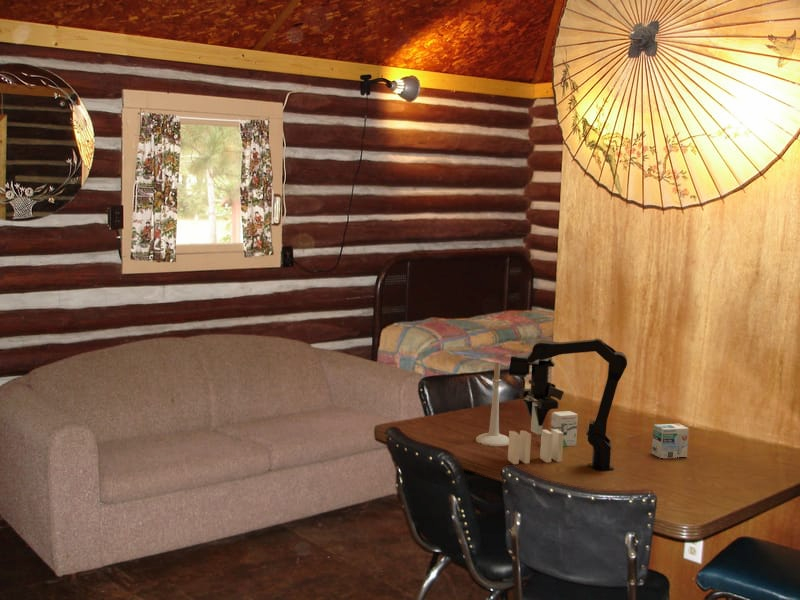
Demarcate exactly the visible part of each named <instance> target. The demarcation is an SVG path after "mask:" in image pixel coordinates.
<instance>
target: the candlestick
mask: <svg viewBox="0 0 800 600" xmlns="http://www.w3.org/2000/svg"><path fill="white" fill-rule="evenodd" d="M500 374H501V361H499V360H496V361H494V371H493V378H492V379H491V381H492V385H493V390H492V391H493V392H492V400H491V410H490V418H489V429H488V432H485V433H482V434H479V435H477V437H476V438H475V441H476V443H478V444H480V443H481V444H480V445H484V446H488V445H489V447H505V446H509V436H507V435H504V434H501V433H500V428H499V427H500V419H499V417H500V416H499V415H500V413H499V412H500V411H499V410H500V407H499V406H500V404H499V402H500V400H499V399H500V396H499V395H500V389H499V386H500V385H501V382H502V379H500Z"/></svg>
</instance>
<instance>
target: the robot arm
mask: <svg viewBox="0 0 800 600" xmlns="http://www.w3.org/2000/svg"><path fill="white" fill-rule="evenodd" d="M592 352H594V353H595V352H596V353H597V354H598V355H599V356H600V357H601V358H602V359H603V360H604V361H606V362H607V363H608V366H607V367H608V368H607V379H606V382H605V385H604V388H603V392H602V395H601V399H600V403H599V405H598V411H597V413H596V416H595V418H594V420H593V419H589V425H588V427H587V428H586V434H585V435H586V436H587V441H588V443H589V444H590V446H592V457H591V463H587V465H588V466H589V467H590V468H592V469H594V470H596V471H611V470H612V471H613V470H614V469H615V468H614V467H613V466H612V465H611V454H612V451H611V449H612V441H611V439H610V438H609V437H608V436H607V435H606V433H607V427H608V425H607V424H608V418H609V416H610V411H611V408H612V405H613V401H614V398H615V394H616V391H617V386H618V384H619V381H620V379H621V378H622V376H623V374H624V373H625V370H626V368H627V366H628V358H627V356H626V354H625V353H624V352H621V351H616V349H614V348H613V347H612V346H610V345H608V344H607V343H605V342H604V341H603V340H602V338H601V339H600V338H597V337H596V338H594V339H584V340H582V339H581V340H573V341H561V342H560V341H552V340H539V341H536V342H535V344H534V345H533V347H532V349H531V353H530V354H528V355H527V357H525V356H522V357H521V356H517V355H512V356H510V360H509V361H510V363H509V367H508V377H517V378H519V377H520V378H527V376H528V375H530V373H531V376H530V379H528V384H529V385H530V388H521V389H520V391H519V392H518V394H519V395H518V397H519V398H521V399H523V404H524V405H525V408H526V409H527V412H528V415H529V417H530V419H531V418H532V402H537V406H534V408H535V412H536V416H537V421H538V424H539V426H542V425H543V424H544V421H545V419H546V416H547V414H548V412H549V411H551V410H557V409H559V401H561V400H562V398H563V396H564V393H565V392H564V390H562V389H559V388H557V386H556V384H555V383H551V382H550V381H549V373H550V368H551V367H552V368H553V367H555V365H556V363H555V362H554V361H552V358H554V357H556V356H560V355H570V354H578V353H579V354H581V353H592ZM546 359H547V360H546ZM537 360H538V362H537ZM556 399H558V400H556ZM542 427H543V426H542Z"/></svg>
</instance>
